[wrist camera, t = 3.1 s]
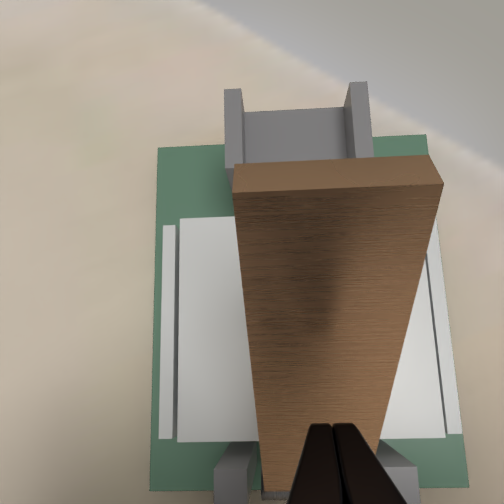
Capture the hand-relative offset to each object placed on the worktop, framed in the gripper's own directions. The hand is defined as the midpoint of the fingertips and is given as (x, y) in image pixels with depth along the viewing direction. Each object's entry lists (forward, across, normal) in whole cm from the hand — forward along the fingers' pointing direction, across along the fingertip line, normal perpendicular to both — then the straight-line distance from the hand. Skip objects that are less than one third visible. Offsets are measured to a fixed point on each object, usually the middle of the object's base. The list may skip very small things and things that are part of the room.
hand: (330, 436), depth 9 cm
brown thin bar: (+3, 0, +6) cm, 6 cm away
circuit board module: (+11, 0, +6) cm, 12 cm away
